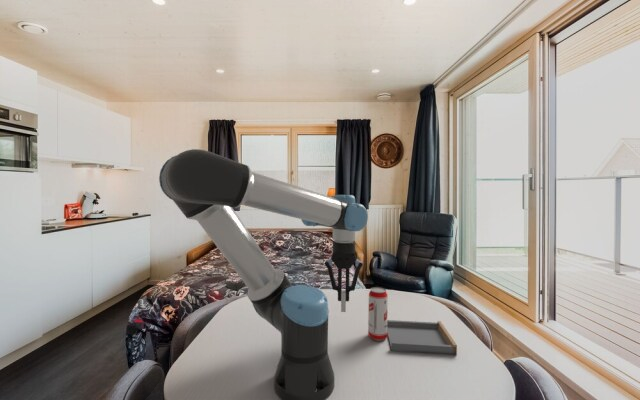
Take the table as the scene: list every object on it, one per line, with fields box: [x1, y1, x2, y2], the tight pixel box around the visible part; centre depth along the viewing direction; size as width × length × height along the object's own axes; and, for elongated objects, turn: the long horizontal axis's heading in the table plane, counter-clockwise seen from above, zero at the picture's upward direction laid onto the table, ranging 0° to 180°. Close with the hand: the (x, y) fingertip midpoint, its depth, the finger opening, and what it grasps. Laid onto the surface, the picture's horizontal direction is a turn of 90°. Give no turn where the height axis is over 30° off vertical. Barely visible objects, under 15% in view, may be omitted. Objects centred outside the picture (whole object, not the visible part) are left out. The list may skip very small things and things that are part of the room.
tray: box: [387, 319, 458, 356], centre depth 95 cm, size 16×19×3 cm
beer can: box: [367, 286, 389, 342], centre depth 96 cm, size 6×6×16 cm
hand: (343, 310), depth 98 cm, fingers closed
